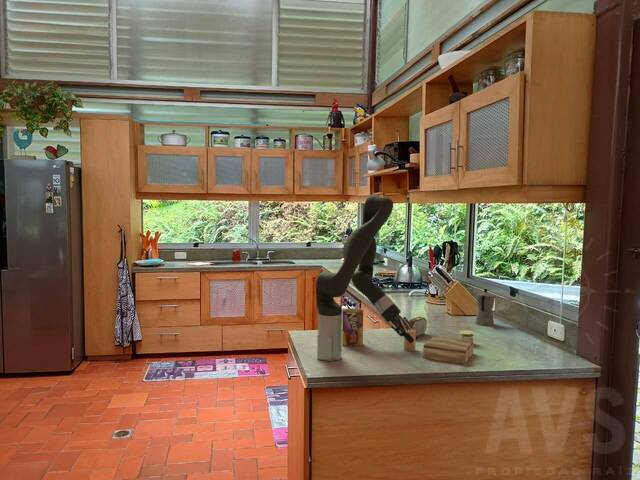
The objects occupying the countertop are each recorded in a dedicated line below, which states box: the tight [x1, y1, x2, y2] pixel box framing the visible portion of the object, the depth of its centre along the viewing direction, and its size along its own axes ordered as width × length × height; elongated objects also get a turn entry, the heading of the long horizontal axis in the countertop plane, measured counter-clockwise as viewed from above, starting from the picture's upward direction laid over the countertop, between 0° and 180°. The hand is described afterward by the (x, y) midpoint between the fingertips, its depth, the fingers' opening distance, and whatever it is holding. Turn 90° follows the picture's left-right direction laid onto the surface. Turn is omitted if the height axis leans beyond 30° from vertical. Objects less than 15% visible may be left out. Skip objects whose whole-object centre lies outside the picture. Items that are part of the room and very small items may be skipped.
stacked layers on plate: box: [458, 330, 475, 342], centre depth 222 cm, size 10×9×6 cm
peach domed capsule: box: [403, 329, 417, 352], centre depth 211 cm, size 5×5×8 cm
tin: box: [408, 316, 428, 337], centre depth 234 cm, size 15×3×8 cm, turn 141°
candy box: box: [342, 307, 364, 346], centre depth 218 cm, size 9×4×15 cm, turn 90°
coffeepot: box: [474, 288, 496, 327], centre depth 259 cm, size 15×9×18 cm, turn 153°
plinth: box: [422, 335, 474, 365], centre depth 204 cm, size 16×16×5 cm
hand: (414, 340), depth 210 cm, fingers closed on peach domed capsule, 4 cm apart
